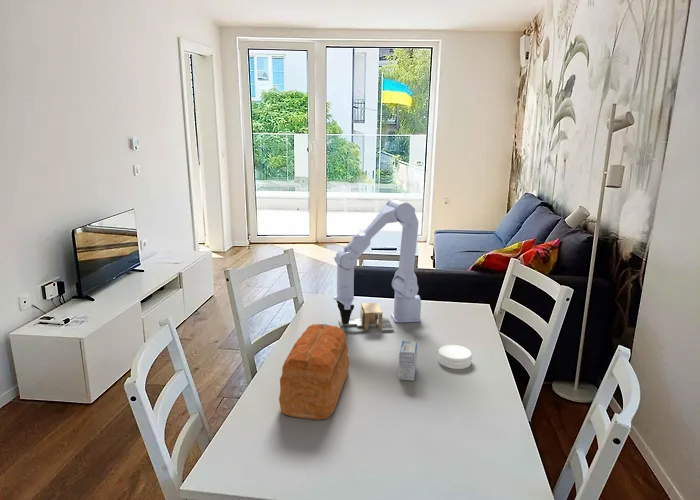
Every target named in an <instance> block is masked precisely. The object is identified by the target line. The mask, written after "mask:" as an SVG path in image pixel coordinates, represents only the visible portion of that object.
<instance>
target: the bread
mask: <svg viewBox="0 0 700 500" xmlns="http://www.w3.org/2000/svg"><path fill="white" fill-rule="evenodd" d="M315 324H316V323H314V324H310V325H309V326H307V327H308V328H307V327H306V330H305V331H303V332H302V333H301V336H300V337H298V338H297V340H296V341H295V343H294V345H292V346H293V347H292V348H291V350H290V352H289V354H288V355H287V357H286V359H285V360H284V362H283V364H282V368H281V369H282V373H281V376H280V378H279V386H280V392H279V397H278V402H279V406H280V411H281V414H283V415H286V416H288V417H292V418H297V419H298V418H300V419H307V420H308V419H309V420H316V421H318V420H325V419H328V418H329V417H330V416H331V415H332V414H333V413H334V412H335V409H336V406H337V404H338V401H339V398H340V395H341V393H342V390H343V386H344V384H345V381H346V380H347V376H348V373H349V366H350V358H349V347H348V344H347V337H346V334H344V332H343V331H342V330H341V328H340V327H339V326H335V325H332V326H329V325H330V324H328V326H326V327H324V326H323V325H315Z"/></svg>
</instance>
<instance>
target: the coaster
mask: <svg viewBox="0 0 700 500" xmlns="http://www.w3.org/2000/svg"><path fill="white" fill-rule="evenodd" d="M437 352H438V354H437V362H438V363H439V364H440V365H441V366H443V367H446V368H447V369H448V368H449V369H453V370H464V369H467V368H469V367H470V366H471V365H472V360H473V358H472V357H473V354H472V353H473V352H472V350H470V349H468V348H466V347H465V346H462V345H458V344H445V345H443V346H441V347H439V348H438V351H437Z"/></svg>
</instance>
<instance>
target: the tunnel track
mask: <svg viewBox="0 0 700 500" xmlns="http://www.w3.org/2000/svg"><path fill="white" fill-rule="evenodd" d="M361 309H363V311H364V313H365V324H364V327H357V325H348V326H343V325H342V323H341V318H338V322H339V323H338V324H339V326H340V327H339V328H340V329H341V330H342V331H343V332H344V334H345V335H349V334H351V335H354V334H374V333H375V334H376V333H378V334H380V333H382V334H383V333H394V332H395V329H394V327H393V325H392V323H391V320H390V319H389V317H383V310H382V308H381V306H380V304H379V302H369V303H368V302H367V303H365V302H363V303H361V306H360V310H361ZM369 315H375V318H378V326H369V327H368V320H369ZM355 319H356V318H350V320H349V321H355ZM357 319H360V318H359V317H358V318H357Z"/></svg>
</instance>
